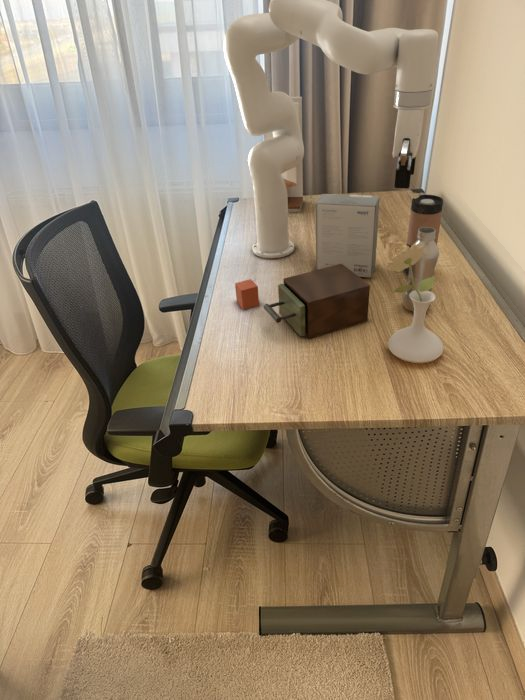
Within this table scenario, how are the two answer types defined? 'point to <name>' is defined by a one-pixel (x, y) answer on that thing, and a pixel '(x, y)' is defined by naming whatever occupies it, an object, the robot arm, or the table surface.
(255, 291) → the block
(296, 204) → the display case
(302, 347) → the table surface
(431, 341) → the flower in vase
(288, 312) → the drawer
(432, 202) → the travel mug
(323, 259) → the hard drive box
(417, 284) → the metal bottle
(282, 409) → the table surface
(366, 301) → the cabinet
